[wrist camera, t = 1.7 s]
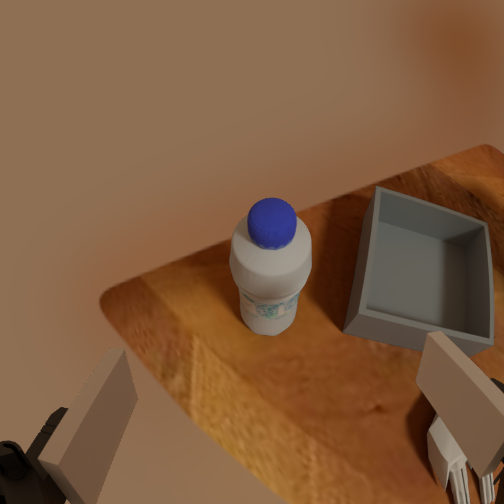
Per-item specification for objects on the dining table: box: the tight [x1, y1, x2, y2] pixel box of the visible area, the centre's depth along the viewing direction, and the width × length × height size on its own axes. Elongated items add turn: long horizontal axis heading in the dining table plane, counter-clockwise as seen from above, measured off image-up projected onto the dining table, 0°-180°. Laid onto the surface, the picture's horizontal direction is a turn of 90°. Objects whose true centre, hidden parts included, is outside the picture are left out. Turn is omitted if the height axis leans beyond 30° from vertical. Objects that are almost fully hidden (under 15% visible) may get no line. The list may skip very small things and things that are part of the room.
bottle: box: [229, 198, 312, 336], centre depth 29 cm, size 7×7×20 cm
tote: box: [342, 186, 494, 357], centre depth 36 cm, size 18×18×7 cm
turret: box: [427, 413, 495, 504], centre depth 26 cm, size 10×20×5 cm, turn 17°
